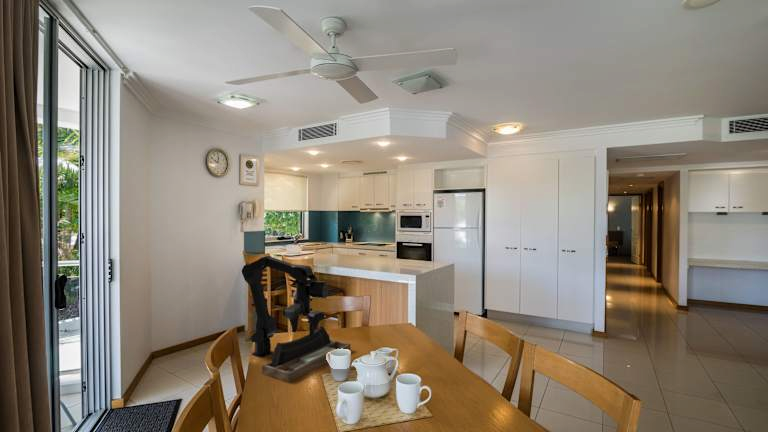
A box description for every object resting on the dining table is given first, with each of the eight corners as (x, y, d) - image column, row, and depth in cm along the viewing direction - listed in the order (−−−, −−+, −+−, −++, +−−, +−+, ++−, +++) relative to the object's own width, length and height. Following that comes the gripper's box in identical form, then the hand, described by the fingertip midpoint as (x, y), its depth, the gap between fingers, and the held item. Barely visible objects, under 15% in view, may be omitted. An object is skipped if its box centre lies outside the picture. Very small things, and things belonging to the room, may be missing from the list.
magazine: (270, 351, 134) (324, 311, 158) (264, 349, 136) (318, 310, 160) (280, 390, 138) (331, 346, 162) (275, 388, 140) (326, 344, 164)
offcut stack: (286, 374, 136) (286, 364, 137) (330, 352, 159) (330, 344, 159) (296, 377, 134) (296, 367, 134) (340, 355, 156) (340, 346, 156)
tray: (262, 373, 136) (262, 365, 136) (326, 344, 167) (326, 338, 167) (288, 382, 128) (288, 374, 128) (350, 350, 159) (350, 344, 159)
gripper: (272, 297, 148) (272, 335, 148) (306, 303, 138) (305, 344, 138) (292, 292, 157) (292, 328, 157) (325, 298, 147) (325, 336, 147)
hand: (302, 334), depth 150 cm, fingers open, 9 cm apart
